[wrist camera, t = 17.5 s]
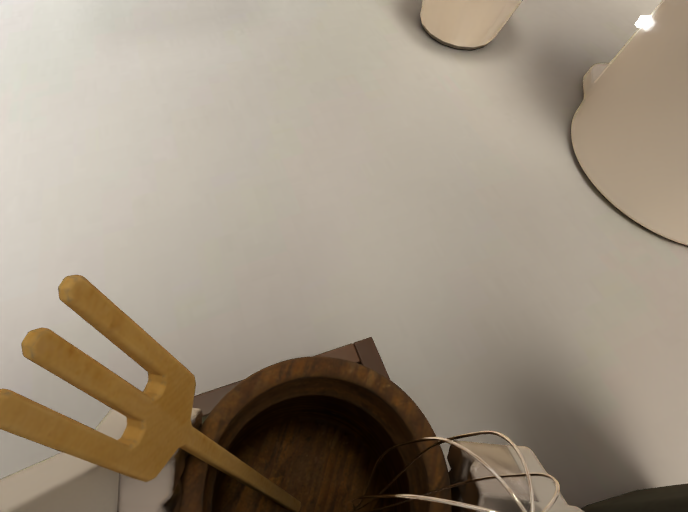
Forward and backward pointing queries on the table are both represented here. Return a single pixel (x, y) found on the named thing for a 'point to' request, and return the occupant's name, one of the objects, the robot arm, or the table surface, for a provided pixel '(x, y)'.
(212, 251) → the table surface
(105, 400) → the utensil holder
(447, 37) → the cup
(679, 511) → the candle
